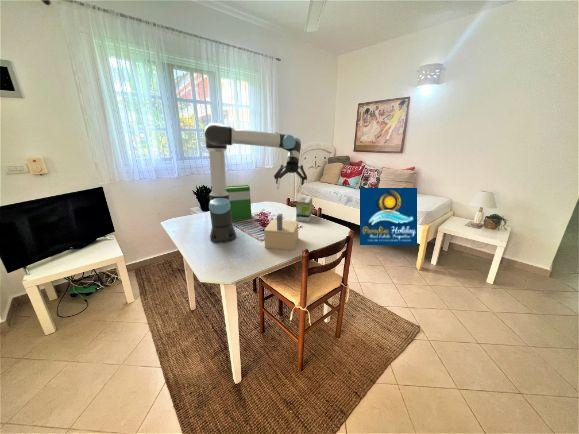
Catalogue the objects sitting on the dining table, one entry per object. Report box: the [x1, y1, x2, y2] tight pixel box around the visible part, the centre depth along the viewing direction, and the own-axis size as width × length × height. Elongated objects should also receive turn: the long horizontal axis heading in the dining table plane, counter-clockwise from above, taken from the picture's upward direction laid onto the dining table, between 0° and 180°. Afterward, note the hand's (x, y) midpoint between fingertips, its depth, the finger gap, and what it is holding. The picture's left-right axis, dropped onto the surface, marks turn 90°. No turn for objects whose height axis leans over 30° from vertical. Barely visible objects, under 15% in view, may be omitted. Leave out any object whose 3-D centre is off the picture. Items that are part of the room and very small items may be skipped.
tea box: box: [295, 196, 313, 223], centre depth 166 cm, size 15×10×15 cm
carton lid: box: [263, 213, 299, 234], centre depth 125 cm, size 16×16×9 cm
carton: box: [263, 224, 299, 251], centre depth 129 cm, size 16×16×10 cm
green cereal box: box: [226, 184, 253, 222], centre depth 166 cm, size 18×7×24 cm, turn 107°
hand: (288, 188), depth 133 cm, fingers open, 13 cm apart
